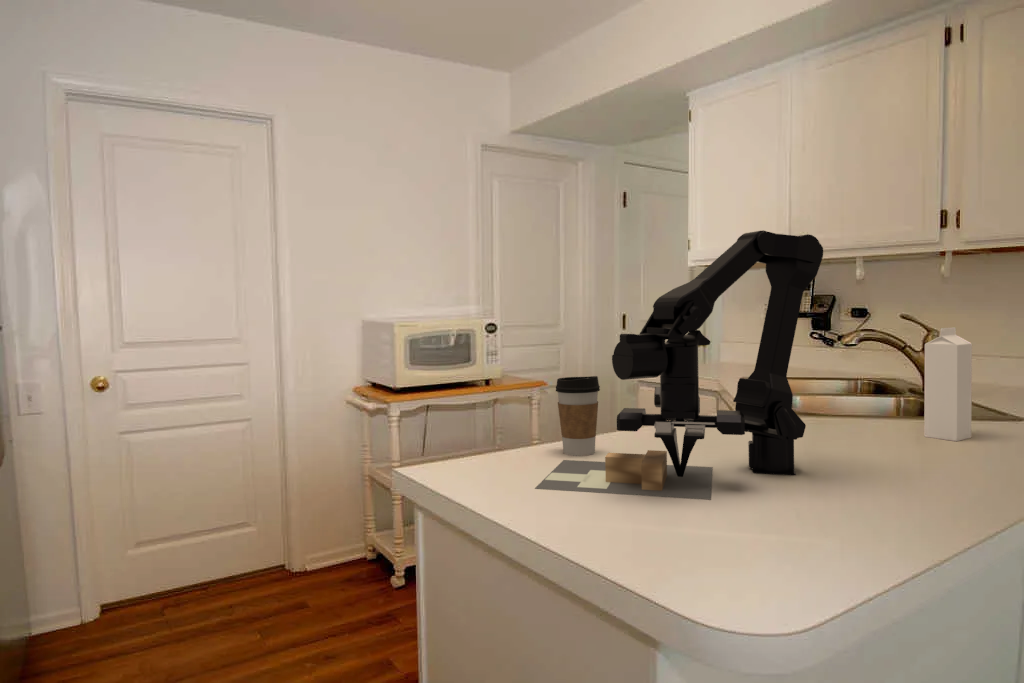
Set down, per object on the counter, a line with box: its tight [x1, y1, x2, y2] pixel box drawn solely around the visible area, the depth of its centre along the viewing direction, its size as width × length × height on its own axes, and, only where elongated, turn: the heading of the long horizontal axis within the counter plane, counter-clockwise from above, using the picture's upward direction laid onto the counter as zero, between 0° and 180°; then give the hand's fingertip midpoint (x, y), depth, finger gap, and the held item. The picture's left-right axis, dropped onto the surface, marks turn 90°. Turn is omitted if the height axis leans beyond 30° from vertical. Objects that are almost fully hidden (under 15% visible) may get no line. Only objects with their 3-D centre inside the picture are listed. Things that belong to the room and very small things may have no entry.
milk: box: [923, 326, 973, 442], centre depth 128 cm, size 6×6×22 cm
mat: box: [534, 459, 714, 501], centre depth 104 cm, size 26×19×1 cm
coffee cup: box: [555, 375, 601, 457], centre depth 122 cm, size 8×8×15 cm
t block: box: [604, 449, 668, 491], centre depth 101 cm, size 9×9×4 cm
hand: (680, 476), depth 99 cm, fingers closed
